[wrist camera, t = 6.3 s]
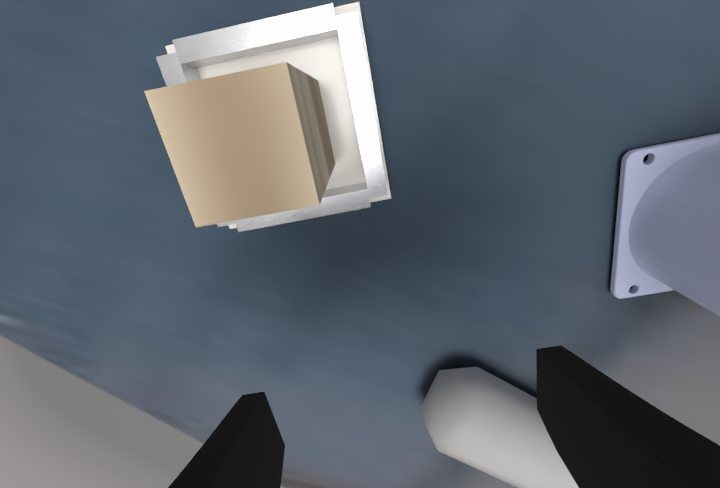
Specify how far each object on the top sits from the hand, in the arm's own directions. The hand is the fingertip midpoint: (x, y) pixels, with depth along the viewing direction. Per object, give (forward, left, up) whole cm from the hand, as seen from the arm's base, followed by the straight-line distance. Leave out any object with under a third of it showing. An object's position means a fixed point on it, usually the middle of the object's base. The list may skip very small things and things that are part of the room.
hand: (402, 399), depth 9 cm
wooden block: (+3, -7, -9) cm, 12 cm away
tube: (-11, +17, -10) cm, 22 cm away
